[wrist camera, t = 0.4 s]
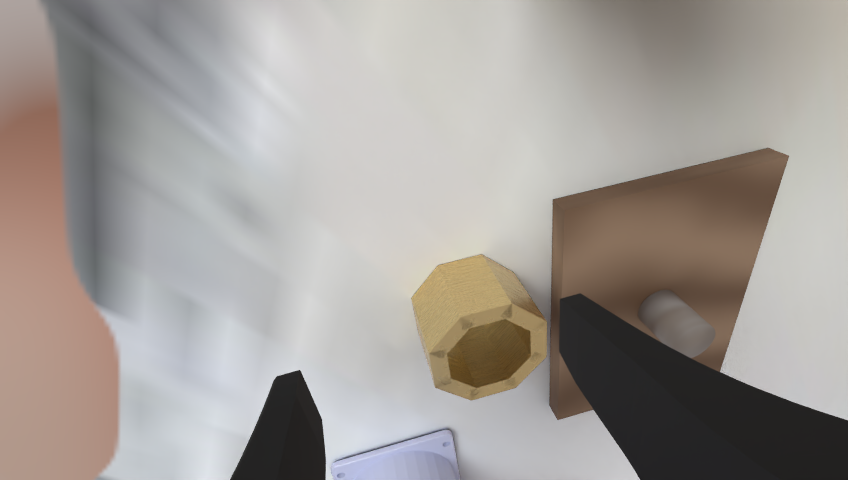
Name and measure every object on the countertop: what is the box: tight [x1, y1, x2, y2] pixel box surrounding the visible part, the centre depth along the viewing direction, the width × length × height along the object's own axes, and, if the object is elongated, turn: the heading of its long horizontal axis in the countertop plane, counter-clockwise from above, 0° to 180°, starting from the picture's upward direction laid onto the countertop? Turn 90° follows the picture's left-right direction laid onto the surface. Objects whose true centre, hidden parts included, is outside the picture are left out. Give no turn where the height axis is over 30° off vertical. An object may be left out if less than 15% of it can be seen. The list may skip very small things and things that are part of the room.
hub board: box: [549, 148, 789, 420], centre depth 25 cm, size 16×12×4 cm
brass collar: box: [411, 255, 547, 400], centre depth 22 cm, size 6×6×4 cm
